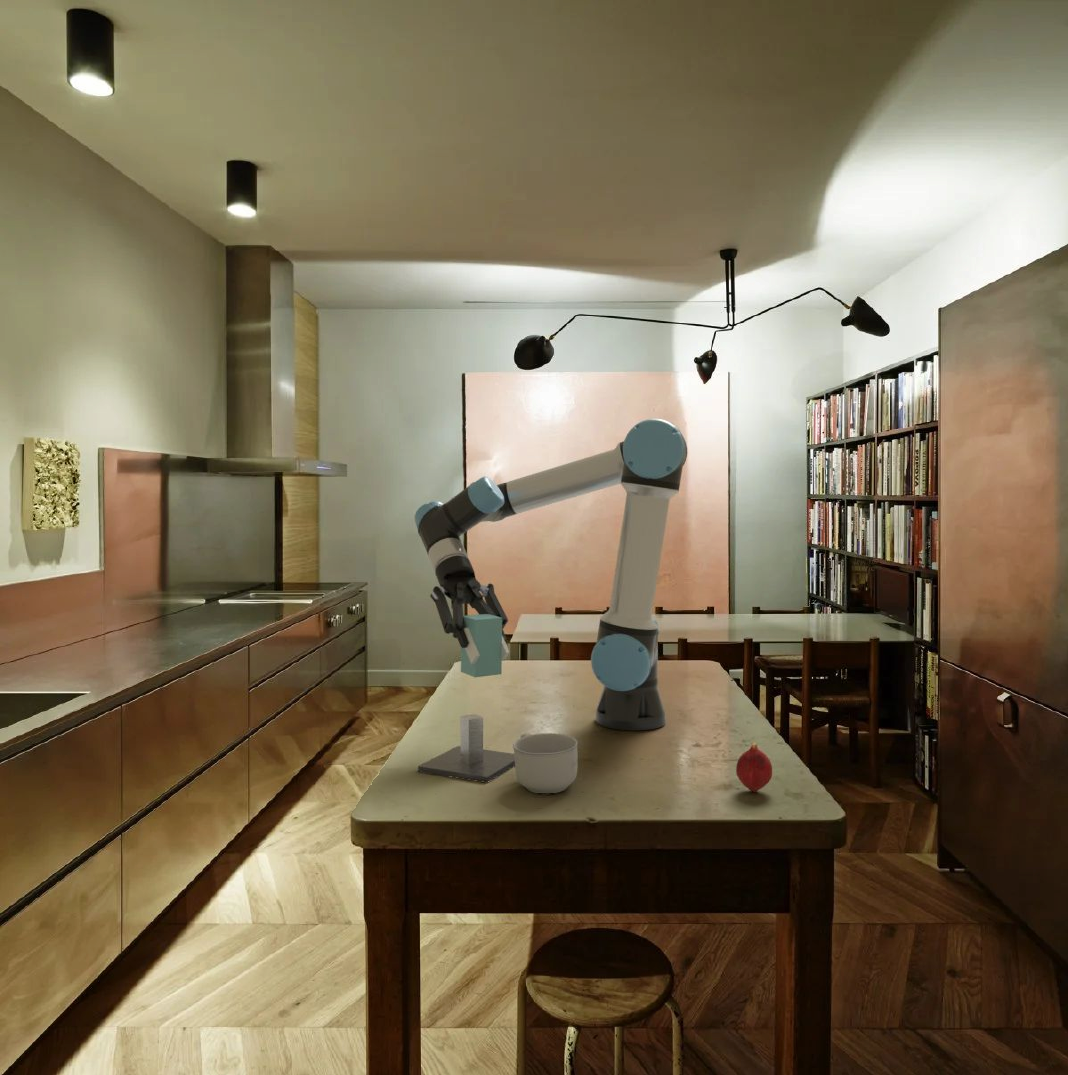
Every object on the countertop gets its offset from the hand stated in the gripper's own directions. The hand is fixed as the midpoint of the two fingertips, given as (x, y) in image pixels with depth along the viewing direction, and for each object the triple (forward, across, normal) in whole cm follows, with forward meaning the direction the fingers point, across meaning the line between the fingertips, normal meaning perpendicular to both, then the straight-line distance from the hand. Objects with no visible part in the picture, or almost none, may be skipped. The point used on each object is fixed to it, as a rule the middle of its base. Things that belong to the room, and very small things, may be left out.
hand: (490, 658), depth 160 cm
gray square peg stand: (+17, +7, -9) cm, 20 cm away
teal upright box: (0, 0, -5) cm, 5 cm away
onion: (+43, -26, +18) cm, 53 cm away
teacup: (+28, +2, +2) cm, 28 cm away
